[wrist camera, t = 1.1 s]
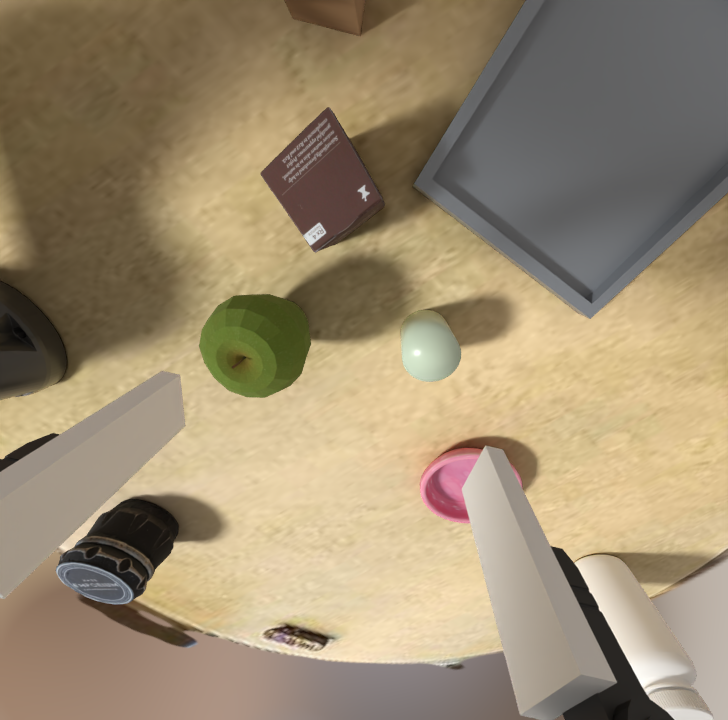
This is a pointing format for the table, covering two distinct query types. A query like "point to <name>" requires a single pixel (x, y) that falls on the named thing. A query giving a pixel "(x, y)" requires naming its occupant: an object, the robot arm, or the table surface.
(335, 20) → the walnut block
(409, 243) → the table surface
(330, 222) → the box
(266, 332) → the apple
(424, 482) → the pink shallow round dish
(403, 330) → the sage canister
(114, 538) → the container
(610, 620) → the pill bottle
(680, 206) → the tray
